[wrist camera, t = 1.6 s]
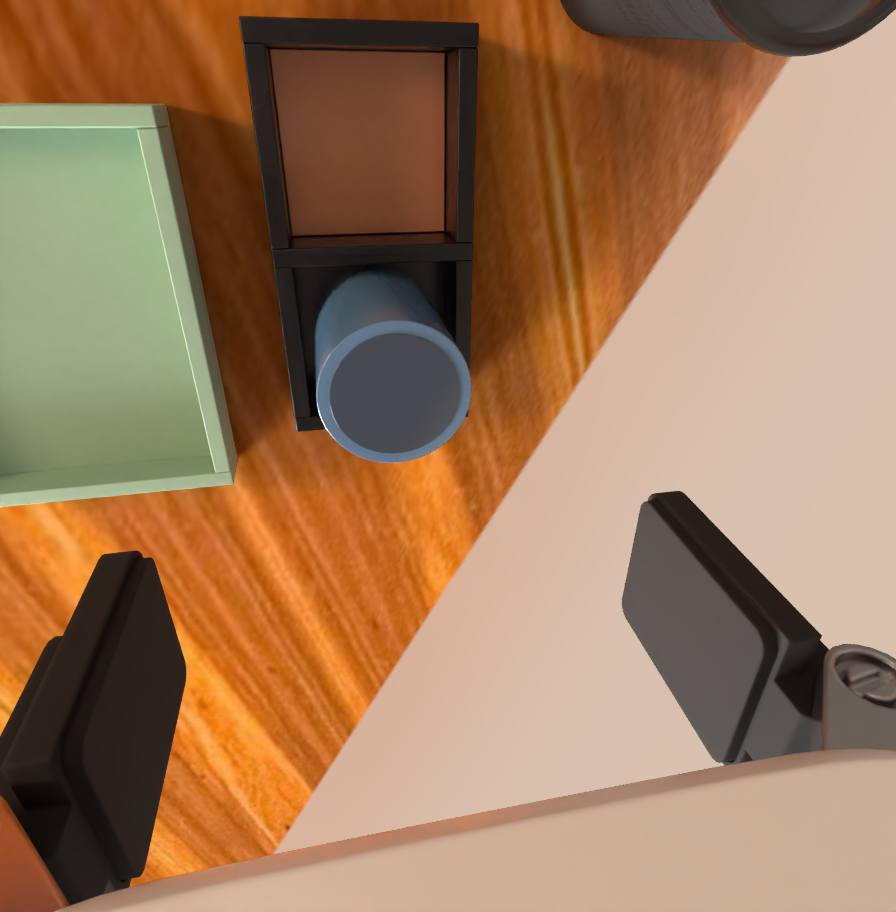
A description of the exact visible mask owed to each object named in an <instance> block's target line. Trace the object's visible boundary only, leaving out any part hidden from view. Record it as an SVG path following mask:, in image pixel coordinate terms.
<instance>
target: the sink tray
mask: <svg viewBox="0 0 896 912" xmlns="http://www.w3.org/2000/svg"><path fill="white" fill-rule="evenodd" d="M237 461H238V458H237V453H236V448H235V443H234V438H233V433H232V428H231V423H230V418H229V413H228V408H227V403H226V398H225V393H224V388H223V384H222V379H221V374H220V369H219V364H218V359H217V354H216V349H215V344H214V339H213V334H212V329H211V324H210V319H209V314H208V309H207V305H206V300H205V295H204V290H203V285H202V280H201V275H200V270H199V265H198V260H197V255H196V250H195V245H194V240H193V235H192V230H191V226H190V221H189V216H188V211H187V206H186V201H185V196H184V191H183V186H182V181H181V176H180V171H179V166H178V161H177V156H176V151H175V146H174V142H173V137H172V132H171V127H170V122H169V117H168V112H167V107H166V104H136V103H0V507H6V506H16V505H27V504H37V503H47V502H57V501H67V500H77V499H87V498H97V497H108V496H118V495H128V494H138V493H148V492H158V491H168V490H178V489H188V488H199V487H209V486H219V485H229V484H233V482H234V477H235V472H236V467H237Z"/></svg>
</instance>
